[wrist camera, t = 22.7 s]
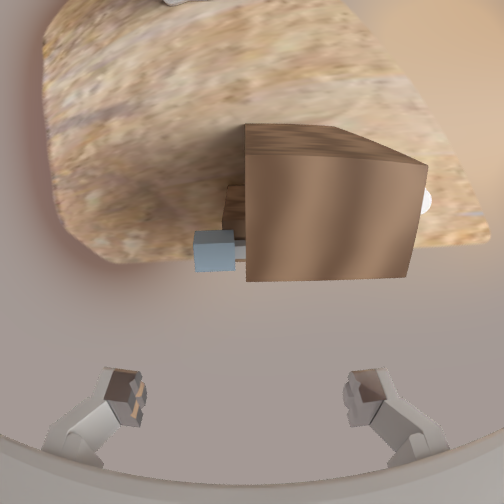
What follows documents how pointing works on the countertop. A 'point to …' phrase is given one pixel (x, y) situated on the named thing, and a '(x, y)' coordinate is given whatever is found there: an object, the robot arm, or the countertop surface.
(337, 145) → the stand
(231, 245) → the plug
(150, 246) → the countertop surface
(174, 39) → the countertop surface
